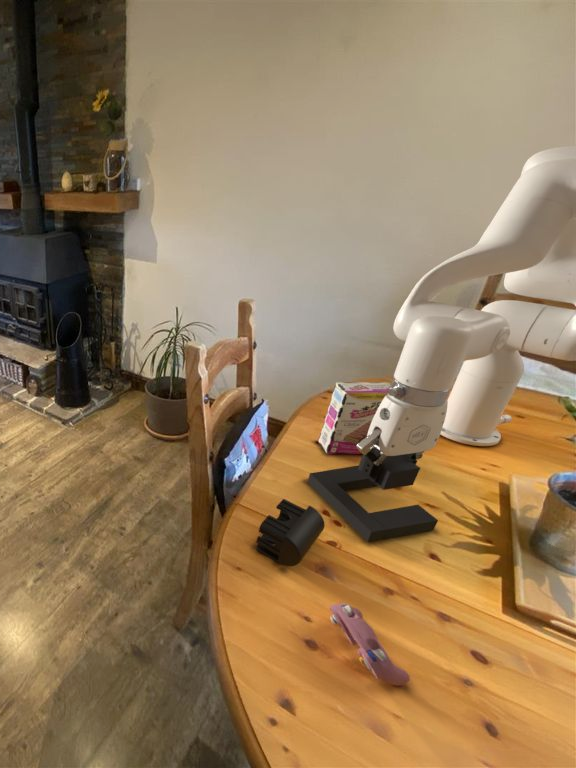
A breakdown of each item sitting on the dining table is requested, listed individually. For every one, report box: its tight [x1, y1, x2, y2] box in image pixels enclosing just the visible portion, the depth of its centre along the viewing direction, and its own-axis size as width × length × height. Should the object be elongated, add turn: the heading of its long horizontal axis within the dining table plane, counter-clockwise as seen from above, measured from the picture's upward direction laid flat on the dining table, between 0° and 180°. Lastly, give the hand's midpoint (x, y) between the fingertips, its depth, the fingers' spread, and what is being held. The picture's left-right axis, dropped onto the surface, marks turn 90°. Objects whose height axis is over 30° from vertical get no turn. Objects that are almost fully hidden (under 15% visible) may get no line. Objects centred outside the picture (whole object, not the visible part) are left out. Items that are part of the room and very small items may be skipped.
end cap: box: [255, 498, 326, 567], centre depth 72 cm, size 10×7×7 cm
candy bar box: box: [318, 381, 391, 455], centre depth 92 cm, size 11×5×16 cm, turn 84°
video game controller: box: [328, 602, 411, 687], centre depth 56 cm, size 10×5×7 cm, turn 5°
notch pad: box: [307, 464, 439, 543], centre depth 80 cm, size 13×16×2 cm
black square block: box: [358, 450, 421, 491], centre depth 77 cm, size 6×6×4 cm
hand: (385, 474), depth 77 cm, fingers closed on black square block, 6 cm apart
